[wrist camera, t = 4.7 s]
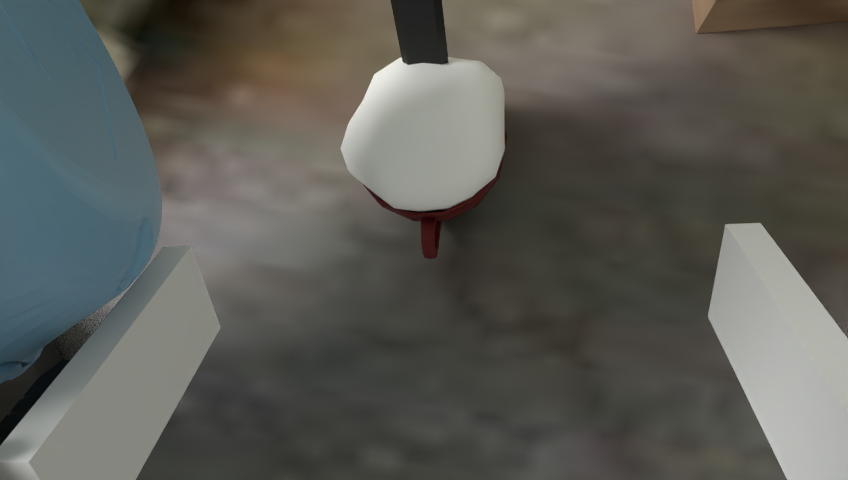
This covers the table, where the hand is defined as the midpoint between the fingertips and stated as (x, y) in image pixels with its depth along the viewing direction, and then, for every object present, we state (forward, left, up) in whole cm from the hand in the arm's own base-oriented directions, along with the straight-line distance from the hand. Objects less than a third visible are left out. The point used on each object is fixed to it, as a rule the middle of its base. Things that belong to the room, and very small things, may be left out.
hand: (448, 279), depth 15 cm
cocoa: (-1, +7, -11) cm, 13 cm away
